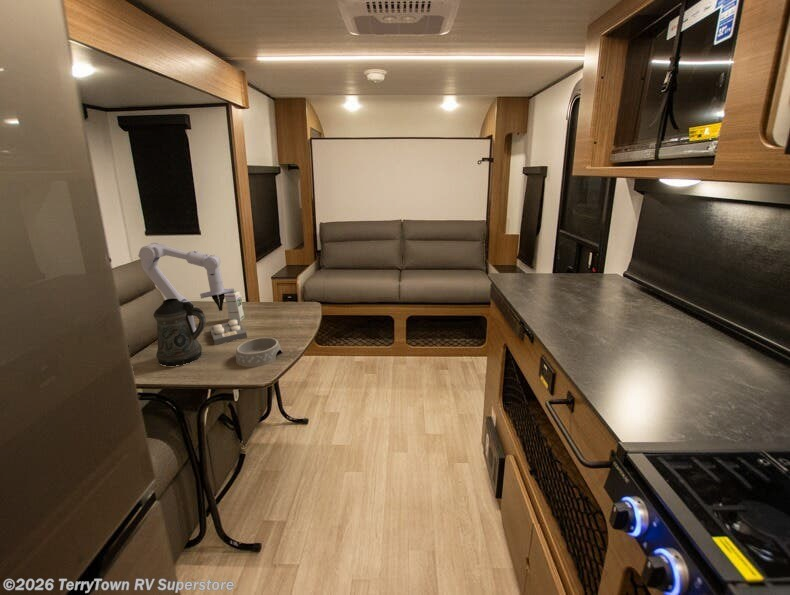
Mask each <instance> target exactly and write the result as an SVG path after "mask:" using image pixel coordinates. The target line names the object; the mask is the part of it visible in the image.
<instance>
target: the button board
mask: <svg viewBox="0 0 790 595" xmlns="http://www.w3.org/2000/svg"><path fill="white" fill-rule="evenodd" d="M237 322H238V325H239V326H240V328H241V330H237V331H231V327H229V323H228V322H223V323H221V325H222V327H223V328H224V332H225V333H223V334H219V335H215V331H214V330H213V326H214V325H209V331H210V335H211V337H212V340H214V341H213V343H214V345H215V344H217V345H220V343H221V344H226V343H229V342H234V341H238V340H237V339H239V340H243V339H246V338H248V334H247V331H246V329H245V328H244V326H243V324H242V323H241V321H239V320H238V321H237ZM242 338H243V339H242ZM233 340H234V341H233ZM225 342H226V343H225Z"/></svg>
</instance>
